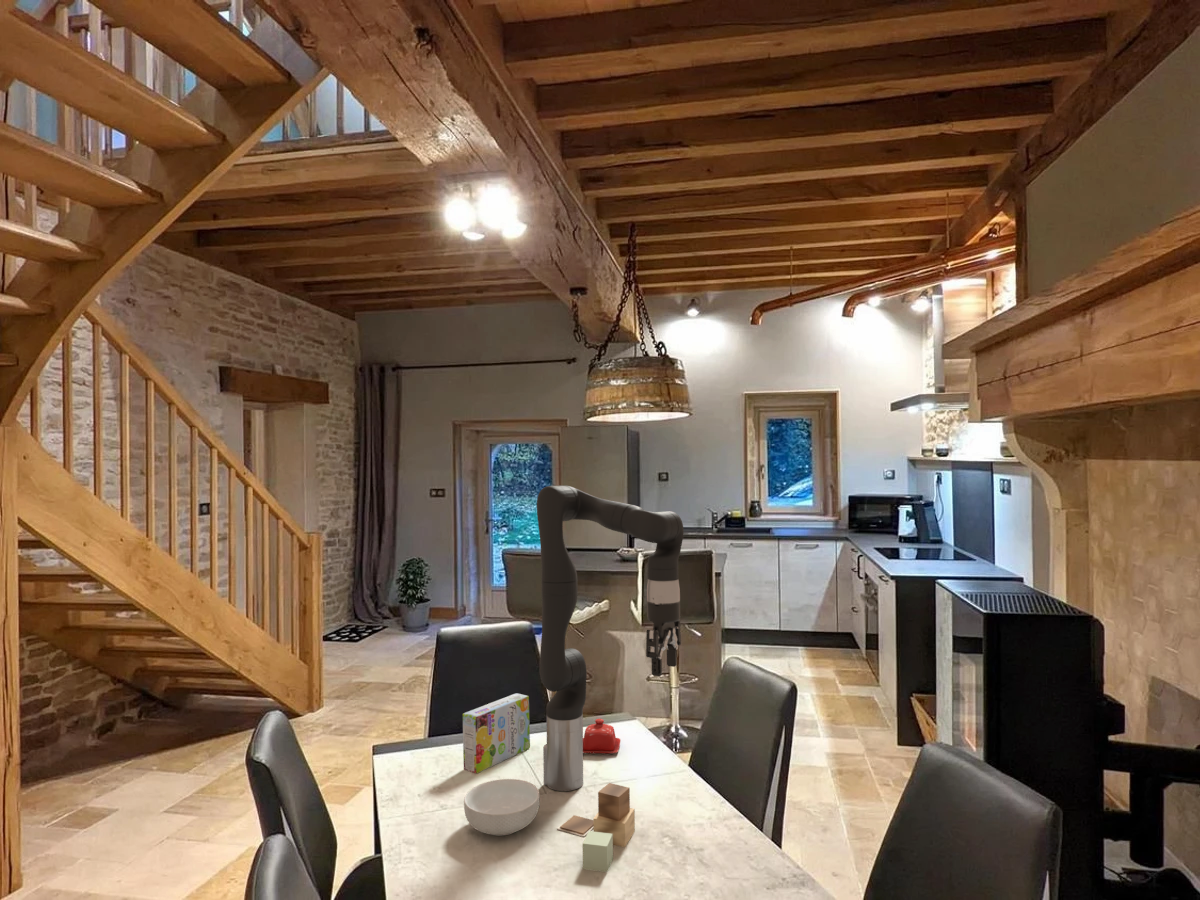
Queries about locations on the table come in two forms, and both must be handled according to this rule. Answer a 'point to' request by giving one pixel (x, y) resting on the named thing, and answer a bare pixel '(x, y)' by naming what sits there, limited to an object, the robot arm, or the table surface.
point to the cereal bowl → (501, 806)
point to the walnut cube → (613, 801)
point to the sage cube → (597, 851)
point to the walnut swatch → (577, 826)
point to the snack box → (495, 732)
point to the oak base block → (617, 827)
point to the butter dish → (600, 739)
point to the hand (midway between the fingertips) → (664, 670)
